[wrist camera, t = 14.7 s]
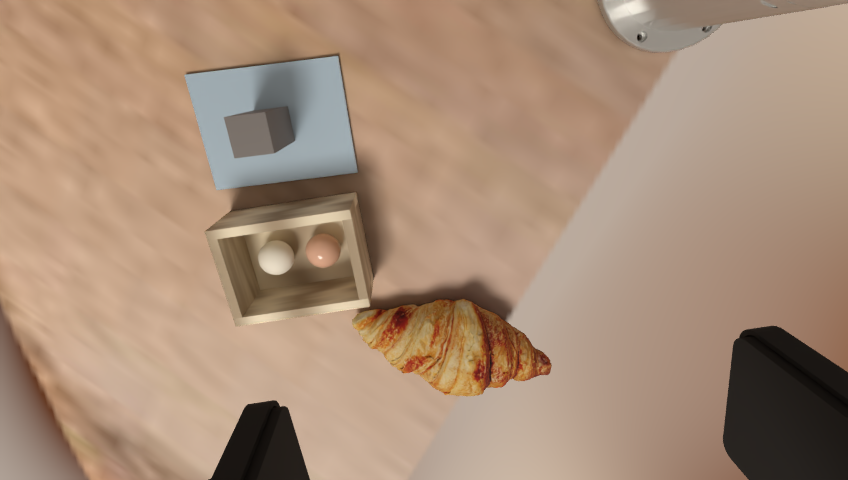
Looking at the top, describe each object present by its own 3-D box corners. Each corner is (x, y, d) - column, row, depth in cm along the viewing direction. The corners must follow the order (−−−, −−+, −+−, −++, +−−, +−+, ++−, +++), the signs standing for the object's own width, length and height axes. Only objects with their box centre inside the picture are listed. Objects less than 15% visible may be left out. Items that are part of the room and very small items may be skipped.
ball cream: (293, 233, 43) (285, 245, 40) (301, 264, 44) (293, 277, 41) (259, 238, 43) (249, 250, 40) (268, 268, 44) (258, 283, 41)
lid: (339, 56, 39) (324, 51, 32) (358, 170, 42) (348, 190, 35) (188, 74, 39) (138, 74, 32) (219, 188, 42) (181, 211, 35)
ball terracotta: (339, 226, 43) (334, 237, 40) (345, 257, 44) (341, 270, 41) (305, 231, 43) (298, 243, 40) (313, 262, 44) (306, 275, 41)
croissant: (352, 319, 51) (336, 386, 46) (364, 265, 44) (347, 337, 38) (529, 356, 53) (534, 424, 48) (568, 310, 46) (580, 385, 41)
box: (356, 192, 43) (349, 209, 37) (373, 278, 46) (369, 306, 40) (230, 211, 43) (204, 231, 37) (256, 295, 46) (235, 326, 40)
